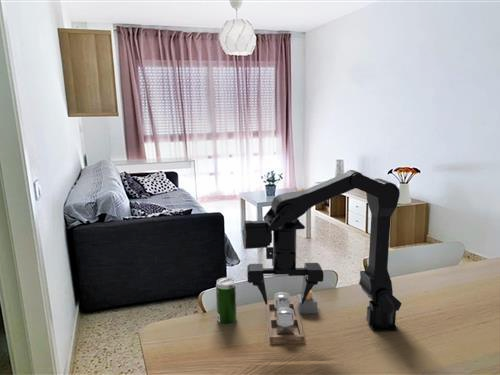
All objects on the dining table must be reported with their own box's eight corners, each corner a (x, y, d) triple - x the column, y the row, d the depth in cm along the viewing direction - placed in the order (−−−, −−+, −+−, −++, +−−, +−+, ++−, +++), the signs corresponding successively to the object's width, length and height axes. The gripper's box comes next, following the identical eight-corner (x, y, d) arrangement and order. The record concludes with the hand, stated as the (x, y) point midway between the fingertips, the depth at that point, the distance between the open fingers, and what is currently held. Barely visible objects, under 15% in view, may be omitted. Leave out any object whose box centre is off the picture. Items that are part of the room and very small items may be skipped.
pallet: (295, 308, 114) (296, 301, 113) (305, 345, 96) (305, 337, 96) (265, 308, 114) (265, 302, 113) (268, 345, 96) (268, 338, 95)
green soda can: (223, 329, 103) (222, 287, 101) (213, 320, 108) (212, 280, 105) (240, 322, 106) (239, 282, 104) (230, 314, 111) (229, 275, 108)
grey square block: (314, 306, 115) (314, 293, 114) (317, 315, 110) (317, 302, 109) (297, 306, 115) (297, 294, 114) (299, 315, 110) (299, 302, 109)
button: (311, 295, 113) (311, 289, 112) (313, 300, 110) (313, 293, 109) (301, 295, 113) (301, 289, 112) (302, 300, 110) (302, 294, 109)
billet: (292, 327, 103) (292, 306, 101) (294, 337, 98) (294, 315, 97) (275, 327, 103) (276, 307, 101) (277, 337, 98) (277, 315, 97)
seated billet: (289, 311, 111) (289, 291, 110) (290, 319, 107) (290, 299, 105) (273, 311, 111) (273, 292, 110) (274, 319, 107) (274, 299, 105)
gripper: (316, 234, 104) (315, 288, 107) (246, 235, 103) (247, 289, 107) (324, 249, 93) (323, 309, 96) (247, 250, 93) (247, 310, 96)
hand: (284, 303), depth 99 cm, fingers open, 9 cm apart
